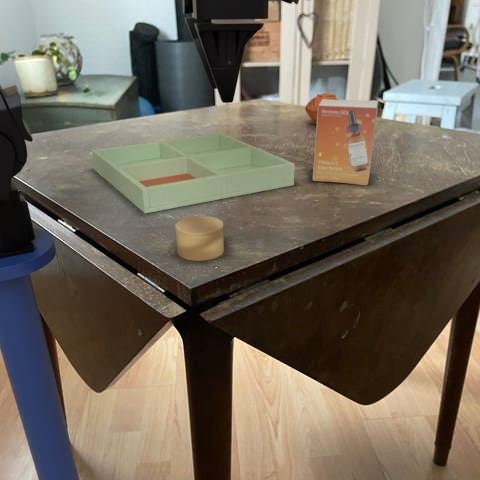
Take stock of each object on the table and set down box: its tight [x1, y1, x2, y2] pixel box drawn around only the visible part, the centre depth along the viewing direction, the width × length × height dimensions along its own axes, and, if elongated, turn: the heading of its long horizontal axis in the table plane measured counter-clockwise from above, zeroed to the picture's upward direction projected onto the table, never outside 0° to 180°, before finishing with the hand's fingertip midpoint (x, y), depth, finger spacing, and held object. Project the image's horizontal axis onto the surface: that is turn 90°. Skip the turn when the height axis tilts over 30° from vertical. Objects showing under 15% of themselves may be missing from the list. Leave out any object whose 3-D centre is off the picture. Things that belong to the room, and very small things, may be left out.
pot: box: [304, 93, 339, 125], centre depth 108 cm, size 8×8×7 cm
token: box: [174, 215, 225, 262], centre depth 57 cm, size 5×5×3 cm
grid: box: [91, 132, 296, 214], centre depth 80 cm, size 22×22×3 cm
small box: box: [312, 99, 379, 186], centre depth 76 cm, size 8×6×10 cm
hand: (221, 95), depth 57 cm, fingers open, 9 cm apart
